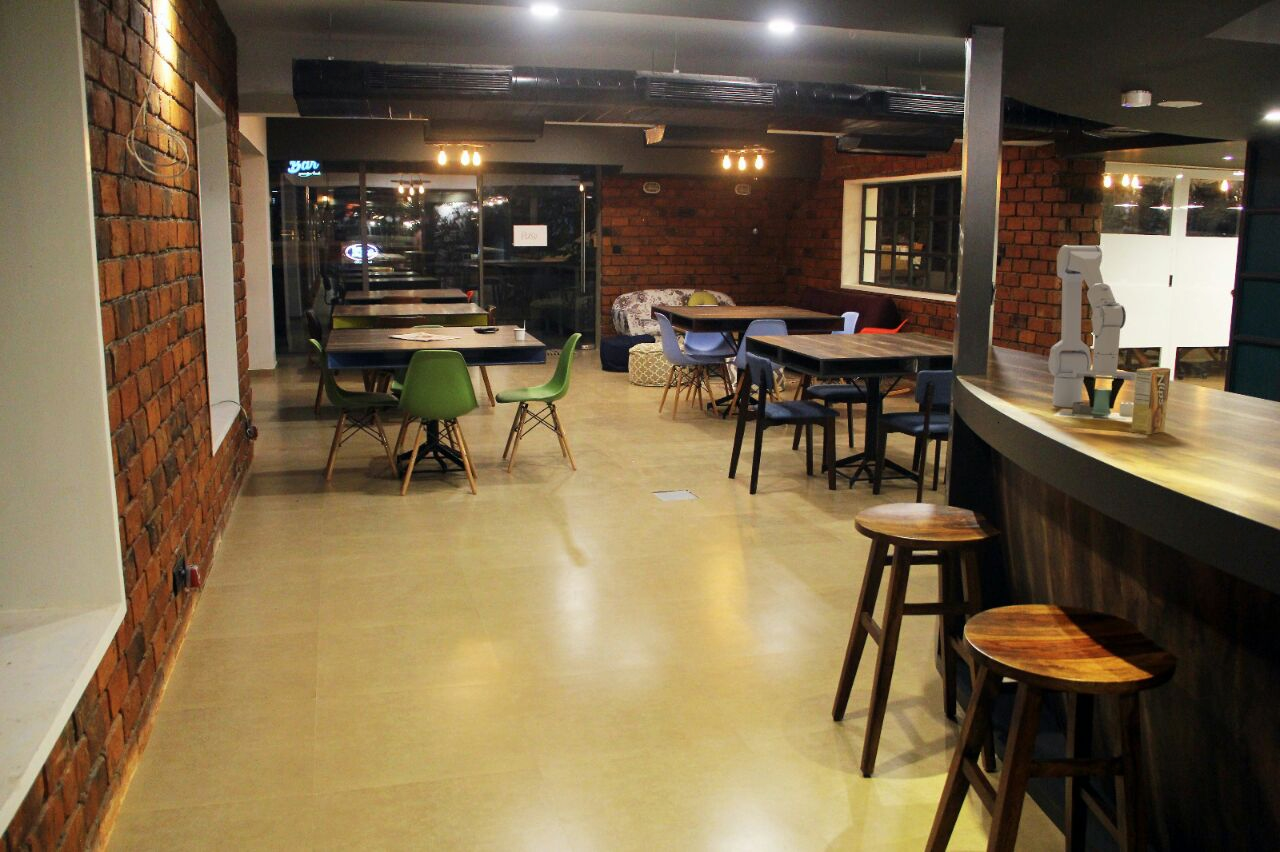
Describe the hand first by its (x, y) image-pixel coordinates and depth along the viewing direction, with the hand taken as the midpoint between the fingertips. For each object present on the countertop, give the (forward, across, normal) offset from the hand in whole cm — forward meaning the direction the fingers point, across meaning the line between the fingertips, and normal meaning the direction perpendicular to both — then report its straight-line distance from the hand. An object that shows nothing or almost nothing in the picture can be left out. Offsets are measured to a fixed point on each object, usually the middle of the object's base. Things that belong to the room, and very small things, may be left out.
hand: (1101, 407), depth 272 cm
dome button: (+2, -3, +6) cm, 8 cm away
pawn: (+2, 0, 0) cm, 2 cm away
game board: (+4, 0, +4) cm, 5 cm away
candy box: (+4, +12, -12) cm, 17 cm away
